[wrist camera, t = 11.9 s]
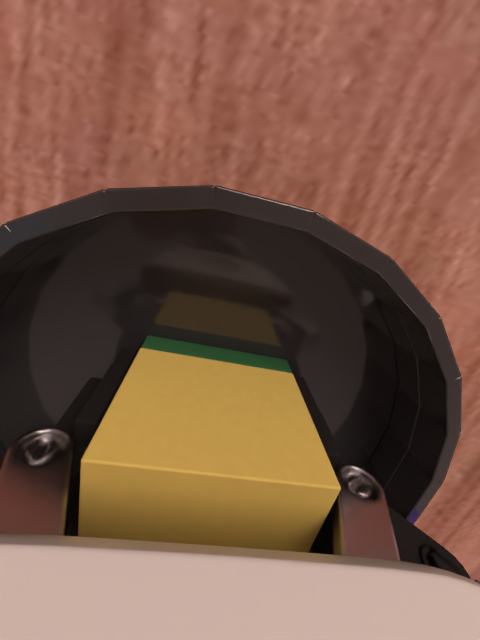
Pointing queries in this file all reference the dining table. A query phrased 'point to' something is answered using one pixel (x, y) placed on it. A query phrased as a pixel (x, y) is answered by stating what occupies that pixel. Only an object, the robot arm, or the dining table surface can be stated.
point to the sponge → (206, 454)
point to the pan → (230, 317)
